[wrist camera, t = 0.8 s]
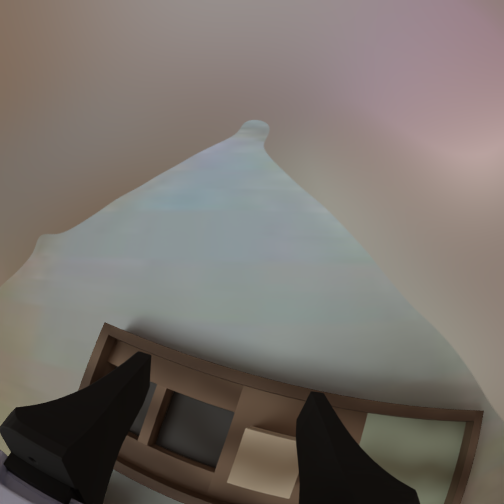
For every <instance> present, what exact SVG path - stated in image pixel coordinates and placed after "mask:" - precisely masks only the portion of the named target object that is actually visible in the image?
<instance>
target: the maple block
mask: <svg viewBox="0 0 504 504" xmlns="http://www.w3.org/2000/svg"><path fill="white" fill-rule="evenodd" d="M298 473H299V469H298V458H297V448H296V437H293V436H289V435H285V434H280V433H276V432H272V431H269V430H265V429H261V428H257V427H254V426H251V427H247V428H245V431H244V434H243V437H242V440H241V443H240V446H239V449H238V452H237V455H236V458H235V461H234V463H233V466H232V469H231V472H230V475H229V478H228V480H227V483H230V484H233V485H236V486H240V487H243V488H247V489H250V490H254V491H258V492H262V493H265V494H270V495H274V496H278V497H283V498H287V499H289V498H290V495H291V493H292V490H293V487H294V485H295V482H296V479H297V476H298Z"/></svg>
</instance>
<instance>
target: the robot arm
mask: <svg viewBox="0 0 504 504" xmlns="http://www.w3.org/2000/svg"><path fill="white" fill-rule="evenodd" d="M150 372H151V355H150V354H146V353H143V352H140V351H138V352H136V353H135V354H134V355H132V356H131V357H130V358H129V359H127V360H126V361H125V362H124V363H122V364H121V365H120V366H118V367H117V368H116V369H114V370H113V371H111V372H110V373H108V374H107V375H105V376H104V377H102V378H101V379H99V380H97V381H96V382H94V383H93V384H91V385H89V386H87V387H85V388H83V389H81V390H79V391H77V392H75V393H72V394H70V395H67V396H65V397H62V398H59V399H56V400H53V401H49V402H46V403H42V404H37V405H31V406H24V407H16V408H15V409H14V410H13V411H12V412H11V413H10V415H9V416H8V417H7V418H6V420H5V421H4V422H3V424H2V425H1V426H0V433H1V435H2V437H3V439H4V441H5V442H6V444H7V446H8V448H9V449H10V451H11V453H10V455H9V456H7V455H6V454H5V453H4V452H3V451H1V450H0V504H103V500H104V497H105V493H106V490H107V486H108V483H109V480H110V477H111V474H112V471H113V468H114V465H115V462H116V459H117V457H118V454H119V451H120V449H121V446H122V444H123V442H124V440H125V438H126V436H127V434H128V432H129V430H130V428H131V426H132V424H133V423H134V421H135V419H136V417H137V415H138V413H139V411H140V409H141V408H142V406H143V403H144V401H145V398H146V396H147V393H148V390H149V387H150ZM296 448H297V458H298V469H299V483H300V487H299V504H420V501H419V498H418V495H417V492H416V490H415V489H413V488H411V487H410V486H408V485H406V484H404V483H403V482H401V481H399V480H398V479H396V478H395V477H394V476H392V475H391V474H389V473H388V472H387V471H385V470H384V469H383V468H382V467H381V466H379V465H378V464H377V463H376V462H375V461H374V460H373V459H372V458H371V457H370V456H369V455H368V454H367V453H366V452H365V451H364V450H363V449H362V448H361V447H360V446H359V444H358V443H357V442H356V441H355V440H354V438H353V437H352V436H351V434H350V433H349V432H348V430H347V429H346V428H345V426H344V425H343V423H342V422H341V420H340V419H339V417H338V415H337V414H336V412H335V411H334V409H333V407H332V406H331V404H330V402H329V401H328V399H327V398H326V396H325V394H324V393H321V392H314V391H311V392H310V394H309V396H308V398H307V400H306V402H305V404H304V406H303V408H302V410H301V412H300V414H299V416H298V418H297V419H296Z"/></svg>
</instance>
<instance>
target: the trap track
mask: <svg viewBox="0 0 504 504" xmlns="http://www.w3.org/2000/svg"><path fill="white" fill-rule="evenodd" d="M138 351H140V352H143V353H146V354H150V355H151V372H150V381H151V382H150V387H149V390H148V393H147V396H146V398H145V401H144V403H143V406H142V408H141V409H140V411H139V413H138V415H137V417H136V419H135V421H134V423H133V424H132V426H131V428H130V430H129V431H130V432H128V434H127V436H126V438H125V440H124V442H123V444H122V446H121V449H120V451H119V454H118V457H117V459H116V462H115V465H114V468H113V469H114V470H116V471H118V472H119V473H121V474H123V475H125V476H127V477H129V478H130V479H132V480H134V481H136V482H138V483H140V484H142V485H144V486H146V487H148V488H150V489H152V490H154V491H157V492H159V493H161V494H163V495H165V496H168V497H170V498H172V499H174V500H177V501H179V502H182V503H184V504H299V487H300V483H299V473H298V476H297V479H296V482H295V485H294V487H293V490H292V493H291V495H290V498H289V499H287V498H283V497H278V496H274V495H270V494H265V493H262V492H258V491H254V490H250V489H247V488H243V487H240V486H236V485H233V484H230V483H227V480H228V478H229V475H230V472H231V469H232V466H233V463H234V461H235V458H236V455H237V452H238V449H239V446H240V443H241V440H242V437H243V434H244V431H245V428H247V427H251V426H254V427H257V428H261V429H265V430H269V431H272V432H276V433H280V434H285V435H289V436H293V437H296V419H297V418H298V416H299V414H300V412H301V410H302V408H303V406H304V404H305V402H306V400H307V398H308V396H309V394H310V392H311V391H314V392H321V393H324V394H325V396H326V398H327V399H328V401H329V402H330V404H331V406H332V407H333V409H334V411H335V412H336V414H337V415H338V417H339V419H340V420H341V422H342V423H343V425H344V426H345V428H346V429H347V430H348V432H349V433H350V434H351V436H352V437H353V438H354V440H355V441H356V442H357V443H358V444H359V446H360V447H361V448H362V449H363V450H364V451H365V452H366V453H367V454H368V455H369V456H370V457H371V458H372V459H373V460H374V461H375V462H376V463H377V464H378V465H379V466H381V467H382V468H383V469H384V470H385V471H387V472H388V473H389V474H391V475H392V476H394V477H395V478H396V479H398V480H399V481H401V482H403V483H404V484H406V485H408V486H410V487H411V488H413V489H415V490H416V492H417V495H418V498H419V501H420V504H460V503H461V500H462V497H463V494H464V491H465V488H466V485H467V481H468V478H469V475H470V471H471V468H472V464H473V460H474V456H475V452H476V448H477V444H478V439H479V434H480V429H481V424H482V418H483V412H484V411H475V410H454V409H440V408H428V407H418V406H409V405H400V404H392V403H385V402H378V401H372V400H365V399H359V398H354V397H348V396H342V395H337V394H332V393H327V392H322V391H317V390H313V389H308V388H304V387H299V386H295V385H291V384H286V383H282V382H278V381H274V380H271V379H267V378H263V377H259V376H255V375H252V374H248V373H245V372H241V371H238V370H234V369H231V368H228V367H224V366H221V365H218V364H215V363H212V362H208V361H205V360H202V359H199V358H196V357H193V356H190V355H187V354H184V353H182V352H179V351H176V350H173V349H170V348H168V347H165V346H162V345H159V344H157V343H154V342H152V341H149V340H146V339H144V338H141V337H139V336H136V335H134V334H131V333H129V332H126V331H124V330H122V329H119V328H117V327H114V326H112V325H110V324H107V323H104V325H103V327H102V330H101V332H100V335H99V337H98V340H97V342H96V345H95V347H94V350H93V352H92V355H91V357H90V360H89V362H88V365H87V368H86V370H85V373H84V376H83V379H82V381H81V384H80V387H79V390H81V389H83V388H85V387H87V386H89V385H91V384H93V383H94V382H96V381H97V380H99V379H101V378H102V377H104V376H105V375H107V374H108V373H110V372H111V371H113V370H114V369H116V368H117V366H120V365H121V364H122V363H124V362H125V361H126V360H127V359H129V358H130V357H131V356H132V355H134V354H135V353H136V352H138ZM155 383H156V384H155ZM79 390H78V391H79ZM173 392H174V393H173ZM177 392H178V393H177ZM180 393H181V394H180ZM182 394H183V395H182ZM172 395H173V396H172ZM185 395H186V396H185ZM188 396H189V397H188ZM190 397H191V398H190ZM171 398H172V399H171ZM193 398H194V399H193ZM196 399H197V400H196ZM199 400H200V401H199ZM204 402H205V403H204ZM169 403H170V404H169ZM207 403H208V404H207ZM210 404H211V405H210ZM213 405H214V406H213ZM168 406H169V407H168ZM216 406H217V407H216ZM219 407H220V408H219ZM222 408H223V409H222ZM167 409H168V410H167ZM225 409H226V410H225ZM228 410H229V411H228ZM232 411H233V412H232ZM166 412H167V413H166ZM165 415H166V416H165ZM164 418H165V419H164ZM162 423H163V424H162ZM161 426H162V427H161ZM160 429H161V430H160ZM131 432H132V433H131ZM159 432H160V433H159ZM133 433H134V434H133ZM135 434H136V435H135ZM137 435H138V436H137ZM158 435H159V436H158ZM157 438H158V439H157ZM156 441H157V442H156ZM156 444H157V445H156ZM158 445H160V446H158ZM161 446H162V447H161ZM163 447H164V448H163ZM165 448H166V449H165ZM167 449H169V450H167ZM170 450H171V451H170ZM172 451H173V452H172ZM174 452H176V453H174ZM177 453H178V454H177ZM179 454H180V455H179ZM182 455H183V456H182ZM184 456H185V457H184ZM187 457H188V458H187ZM189 458H191V459H189ZM192 459H193V460H192ZM194 460H196V461H194ZM197 461H198V462H197ZM200 462H201V463H200ZM202 463H204V464H202ZM205 464H207V465H205ZM208 465H209V466H208ZM211 466H212V467H211ZM214 467H215V468H214Z"/></svg>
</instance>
